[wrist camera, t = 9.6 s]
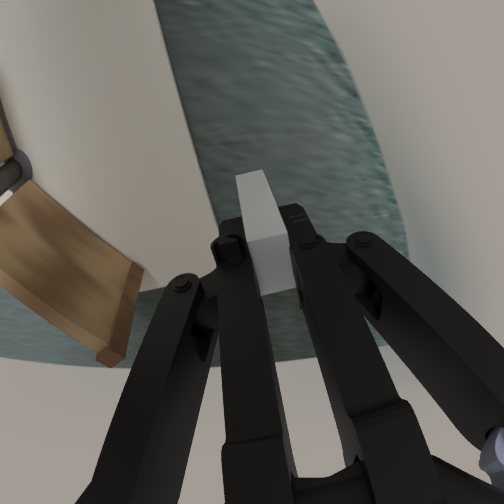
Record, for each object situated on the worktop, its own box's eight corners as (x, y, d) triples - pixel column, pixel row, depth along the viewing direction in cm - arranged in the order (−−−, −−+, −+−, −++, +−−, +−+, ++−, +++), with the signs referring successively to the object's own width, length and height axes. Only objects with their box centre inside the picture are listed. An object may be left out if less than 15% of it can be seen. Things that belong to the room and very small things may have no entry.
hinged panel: (21, 194, 16) (-41, 261, 10) (30, 177, 15) (-36, 241, 9) (131, 282, 21) (110, 368, 15) (144, 269, 20) (124, 357, 14)
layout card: (-62, 60, 9) (-67, 61, 8) (137, -71, 8) (134, -76, 8) (48, 306, 23) (45, 312, 22) (230, 266, 22) (231, 272, 22)
